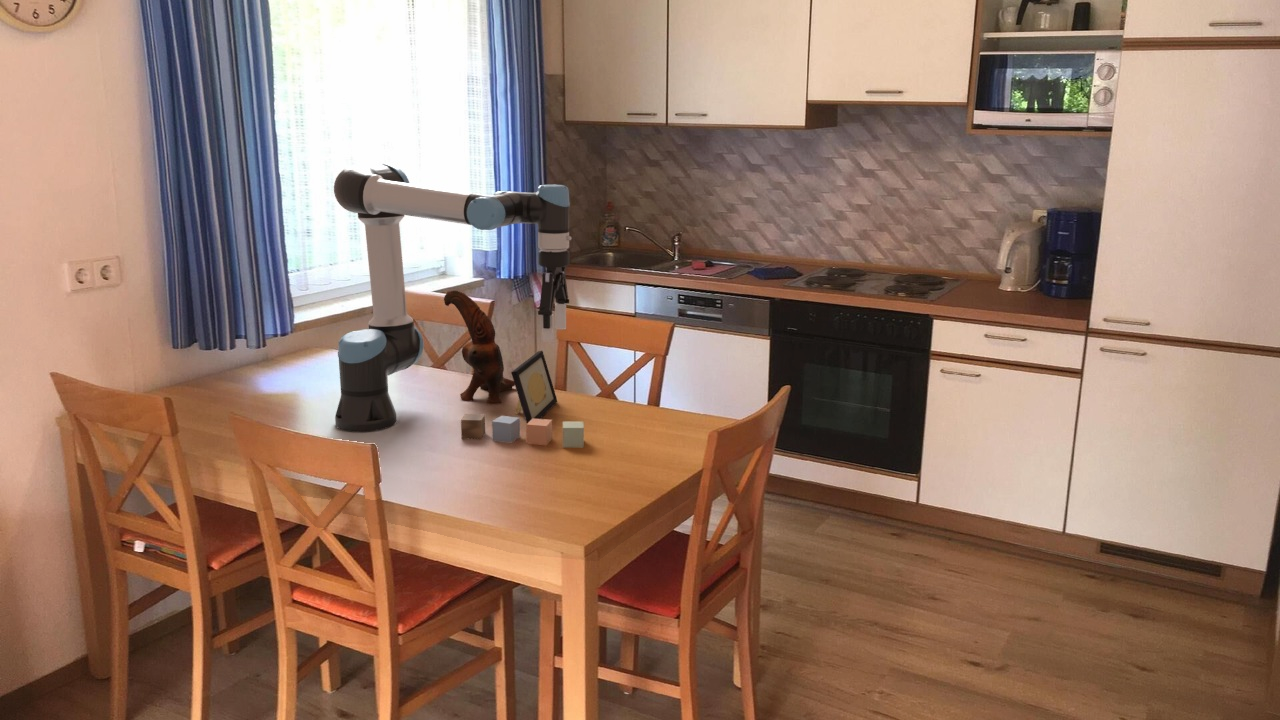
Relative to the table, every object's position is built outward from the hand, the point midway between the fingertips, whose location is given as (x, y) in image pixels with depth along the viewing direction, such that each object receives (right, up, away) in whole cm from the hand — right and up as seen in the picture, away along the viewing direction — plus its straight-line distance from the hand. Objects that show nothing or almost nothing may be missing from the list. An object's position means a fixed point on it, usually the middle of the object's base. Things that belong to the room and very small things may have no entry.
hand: (554, 335), depth 247 cm
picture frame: (-8, -21, +19) cm, 29 cm away
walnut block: (-20, -25, +1) cm, 32 cm away
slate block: (-12, -26, -1) cm, 28 cm away
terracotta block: (-3, -26, -3) cm, 26 cm away
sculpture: (-22, -16, +36) cm, 46 cm away
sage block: (+5, -27, -4) cm, 27 cm away
